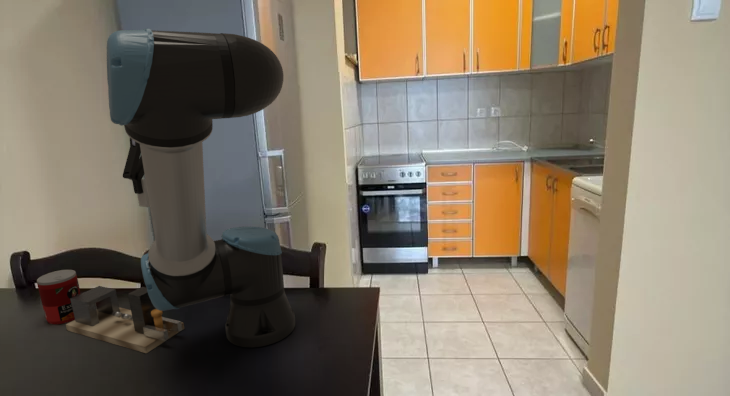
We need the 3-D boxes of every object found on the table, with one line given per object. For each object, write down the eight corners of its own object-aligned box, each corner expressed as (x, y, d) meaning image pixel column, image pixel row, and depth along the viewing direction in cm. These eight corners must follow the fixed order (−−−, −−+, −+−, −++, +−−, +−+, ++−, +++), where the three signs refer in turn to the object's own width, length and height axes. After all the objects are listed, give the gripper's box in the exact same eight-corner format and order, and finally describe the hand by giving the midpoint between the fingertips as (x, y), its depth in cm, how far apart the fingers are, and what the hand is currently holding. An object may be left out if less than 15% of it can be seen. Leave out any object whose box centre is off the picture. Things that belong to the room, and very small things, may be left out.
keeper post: (168, 331, 89) (164, 309, 88) (159, 336, 87) (155, 314, 86) (161, 329, 90) (157, 307, 89) (152, 334, 88) (148, 312, 87)
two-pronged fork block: (182, 329, 89) (176, 291, 87) (164, 340, 85) (158, 301, 83) (123, 315, 96) (116, 280, 94) (105, 325, 92) (97, 288, 90)
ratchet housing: (120, 312, 98) (115, 289, 97) (92, 326, 92) (87, 302, 91) (103, 308, 101) (99, 285, 99) (75, 321, 95) (70, 298, 93)
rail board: (184, 328, 93) (183, 322, 92) (146, 353, 84) (145, 347, 83) (108, 309, 103) (107, 304, 102) (67, 330, 94) (65, 324, 94)
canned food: (65, 326, 96) (55, 283, 93) (38, 323, 97) (27, 281, 95) (92, 310, 103) (84, 270, 100) (66, 308, 105) (57, 268, 102)
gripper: (184, 112, 110) (195, 188, 115) (93, 116, 88) (111, 211, 93) (205, 111, 107) (215, 189, 112) (116, 116, 85) (134, 213, 90)
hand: (168, 199), depth 102 cm, fingers open, 13 cm apart
